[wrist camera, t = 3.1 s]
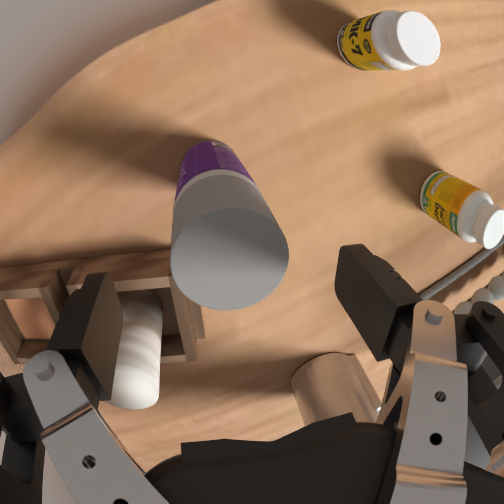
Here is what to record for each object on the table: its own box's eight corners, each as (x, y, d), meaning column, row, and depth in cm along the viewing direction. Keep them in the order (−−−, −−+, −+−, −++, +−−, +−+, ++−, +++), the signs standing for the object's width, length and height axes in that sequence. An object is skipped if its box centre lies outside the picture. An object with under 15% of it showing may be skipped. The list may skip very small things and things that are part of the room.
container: (173, 150, 23) (146, 228, 10) (229, 132, 23) (278, 186, 10) (191, 202, 25) (193, 325, 12) (244, 185, 25) (301, 292, 13)
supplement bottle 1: (337, 15, 19) (393, -7, 12) (383, 30, 20) (446, 21, 13) (332, 63, 21) (389, 57, 14) (379, 76, 22) (442, 80, 15)
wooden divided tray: (193, 246, 27) (196, 338, 17) (204, 328, 32) (214, 420, 22) (-13, 269, 24) (-63, 339, 14) (20, 337, 29) (-9, 409, 19)
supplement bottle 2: (456, 192, 30) (514, 228, 21) (429, 223, 31) (484, 266, 23) (440, 159, 27) (506, 191, 19) (410, 192, 29) (473, 233, 20)
